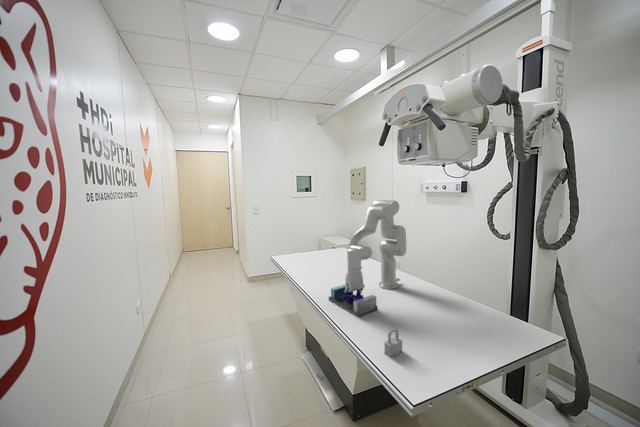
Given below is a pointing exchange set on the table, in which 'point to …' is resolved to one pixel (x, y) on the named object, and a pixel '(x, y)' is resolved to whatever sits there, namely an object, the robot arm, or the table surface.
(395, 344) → the padlock
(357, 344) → the table surface
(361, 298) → the blue curved block
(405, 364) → the table surface
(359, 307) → the vise base
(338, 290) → the block
